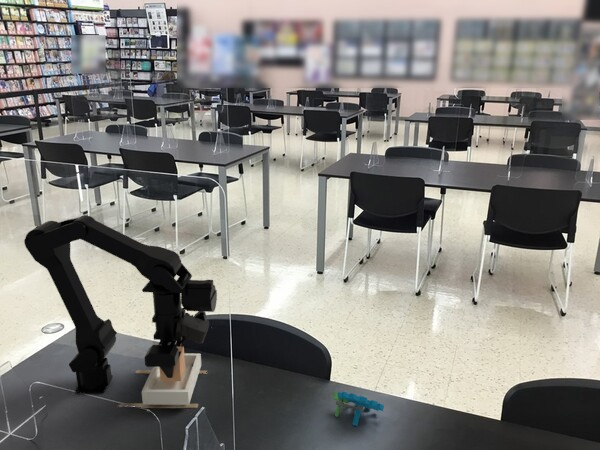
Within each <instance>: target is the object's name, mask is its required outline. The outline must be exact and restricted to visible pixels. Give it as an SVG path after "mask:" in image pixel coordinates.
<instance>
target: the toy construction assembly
mask: <svg viewBox="0 0 600 450" xmlns="http://www.w3.org/2000/svg"><path fill="white" fill-rule="evenodd" d="M333 393H334V394H333V397H332V399H333V400H336V401H335V405H337V406H336V409H335V414H334V416H335V417H336V418H338V417H339V415H340V411H341V408H342V407H344V408H347V409H350V410H355V413H354V417H353V421H352V426H356V427H358V424H359V420H360V416H361V412H363V410H364V408H365V409H368V410H371V409H372V410H374V411H377V412H380V411H381V412H384V409H385V405H384V404H382V403H379V402H378V401H376V400H373V399H371V400H370V399H368V397H366V396H365V397H364V396H363V395H359V396H358V395H357V394H355V393H348V392H345V391H342V392H341V391H338V392H337V391H336V392H333ZM349 403H350V404H351V403H353V404H354V405H350V404H349Z"/></svg>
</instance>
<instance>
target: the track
mask: <svg viewBox="0 0 600 450" xmlns="http://www.w3.org/2000/svg"><path fill="white" fill-rule="evenodd" d="M151 371H152V369H150V370H149V369H145V370H144V369H141V370H140V369H136V371H135V375H150V373H151ZM207 371H208V370H200V371H199V374H198V375H208V372H207ZM206 372H207V373H206ZM202 373H203V374H202ZM119 404H122V406H121V407H125V406H124V405H128V406H127V407H129V406H135V407H141V408H140V409H145V408H146V409H198V408H199V403H189V405H143V402H140V403H139V402H138V403H136V402H134V403H131V402H130V403H128V402H126V403H124V402H123V403H122V402H120V403H119ZM119 404H118V406H119V407H120V405H119Z"/></svg>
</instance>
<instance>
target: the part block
mask: <svg viewBox="0 0 600 450" xmlns="http://www.w3.org/2000/svg"><path fill="white" fill-rule="evenodd" d="M177 348H178V349H179V351H181V354H180V356H179V358H178V360H177V363H176V365H175V366H174V371H173V377H172V378H167V376H166V375H165V374H164V372H163V371H162V370H161V368H160V367H159V369H160V380H161V381H181V380H182V377H183V374H184V371H185V359H184V353H185V348H184V346H181V347H177Z"/></svg>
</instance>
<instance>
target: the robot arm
mask: <svg viewBox="0 0 600 450" xmlns="http://www.w3.org/2000/svg"><path fill="white" fill-rule="evenodd" d="M78 240H81V241H84V242H86V243H88V244H90V245H92V246H94V247H95V248H98V249H100V250H102V251H104V252H106V253H108V254H110V255H112V256H114V257H116V258H118V259H120V260H123V261H124V262H126V263H129V265H130V264H131V265H132V266H133V267H135V268H136V269H137V271H138V272H139V273H140V275H141V276H142V277H143V278H146V279H147V280H148V282H147V283H146V284H145V286H144V287H143V288H142V289H141V290H142V292H143V293H152V299H153V301H152V302H153V312H154V314H153V316H152V318H151V320H152V321H151V322H152V323H154V324H155V331H154V333H153V340H154V341H155V340H156V341H157V340H158V341H159V343H158V344H152V345H151V346H150V347H149V348H148V350H147V351H146V354H145V355H144V365H145V366H146V367H147V368H153V367H160V368H161V370H162V371H163V372H164V374H165V375H166V376H167V378H172V377H173V371H174V366H175V365H176V363H177V360H178V358H179V356H180V354H181V351H179V349H178V348H177V347H182V343H183V342H184V341H186V340H189V341H192V342H194V343H196V344H199V345H202V344H203V343H204V341H205V339H206V335H207V333H208V330H209V327H210V321H209V319H207V314H206V312H209V313H211V312H212V313H213V312H215V311H216V307H217V301H218V292H217V291H218V290H217V289H216V286H215V284H214V280H213V279H202V280H201V279H200V280H199V279H191V278H192V277H193V275H192V273H191V272H190V271H189V270H188V269H187V267H186V266H185V265H184V263H182V259H181V257H180V255H179V254H178V253H177V252H176V251H173V250H171V249H167V248H164V247H162V246H157V245H147V244H145V243H141V242H140V241H138V240H136V239H133V238H132V237H130V236H128V235H126V234H124V233H122V232H120V231H117V230H116V229H114V228H111V227H110V226H108V225H106V224H103V223H102V222H100V221H97V220H96V219H95V218H94V217H93V216H92V215H82V216H79V217H75V218H71V219H65V220H62V221H59V222H58V221H57V220H48V221H45V222H43V223H42V224H40V225H39V226H36V227H35V228H33V229H31V230H30V231H28V232H27V234H26V235H25V237H24V240H23V242H24V247H25V248H26V250H27V251H28V252H29V254H30V256H31V257H32V259H34V261H35V262H36V263H38V264H39V265H41V266H42V267H43V268H45V269H46V271H48V273H49V276H50V278H51V280H52V282H53V284H54V285H55V288H56V290H57V292H58V293H59V294H58V295H59V296H60V299H61V300H62V302H63V304H64V306H65V309H66V311H67V313H68V314H69V315H68V316H69V317H70V319H71V320H72V323H73V325H74V327H75V346H76V350H77V352H78V353H77V354H76V355H75V356H74V358H72V360H71V361H70V362H69V363H68V366H69V368H70V370H71V372H72V373H75V377H76V384H77V387H76V388H75V390H74V394H90V395H91V394H99V395H100V394H104V393H105V392H106V391H107V389H108V387H109V386H110V384H111V382H112V380H113V376H114V375H112V368H111V367H112V366H111V364H109V361H108V357H107V356H108V354H109V353H110V351H111V350H112V349H113V347H114V346H115V343H116V342H117V337H116V335H117V334H118V332H117V330H115V328H114V327H113V323H112V321H111V319H110V318H108V319H106V320H104V319H102V318H101V317H99V316H98V314H97V313H96V310H95V309H94V306H93V304H92V302H91V300H90V298H89V296H88V294H87V292H86V290H85V288H84V285H83V283H82V281H81V278H80V276H79V275H78V272H77V270H76V268H75V265H74V263H73V262H72V259H71V243H73V242H75V241H78ZM176 276H178V278H177V279H176V278H175V277H176ZM186 311H187V312H186ZM188 312H196V313H195V314H190V313H188Z"/></svg>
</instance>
